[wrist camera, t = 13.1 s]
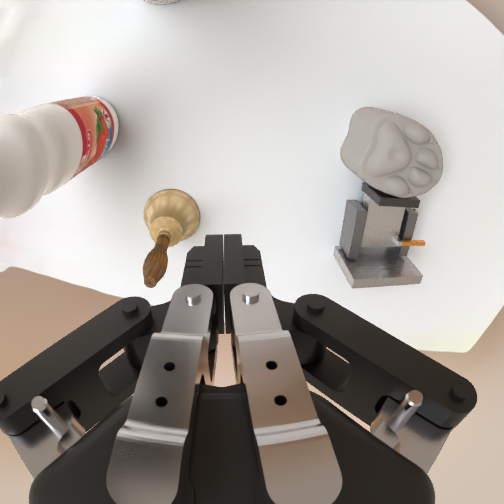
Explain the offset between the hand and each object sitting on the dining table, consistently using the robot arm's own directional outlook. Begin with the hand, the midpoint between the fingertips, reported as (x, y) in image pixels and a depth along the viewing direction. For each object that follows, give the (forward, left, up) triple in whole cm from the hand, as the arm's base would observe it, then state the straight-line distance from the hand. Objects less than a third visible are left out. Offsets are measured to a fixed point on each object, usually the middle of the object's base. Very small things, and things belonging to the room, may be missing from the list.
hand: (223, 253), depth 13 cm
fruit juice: (-3, -19, -29) cm, 35 cm away
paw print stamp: (0, +23, -29) cm, 37 cm away
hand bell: (+11, -8, -29) cm, 32 cm away
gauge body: (+13, +24, -29) cm, 40 cm away
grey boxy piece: (+10, +25, -28) cm, 39 cm away
